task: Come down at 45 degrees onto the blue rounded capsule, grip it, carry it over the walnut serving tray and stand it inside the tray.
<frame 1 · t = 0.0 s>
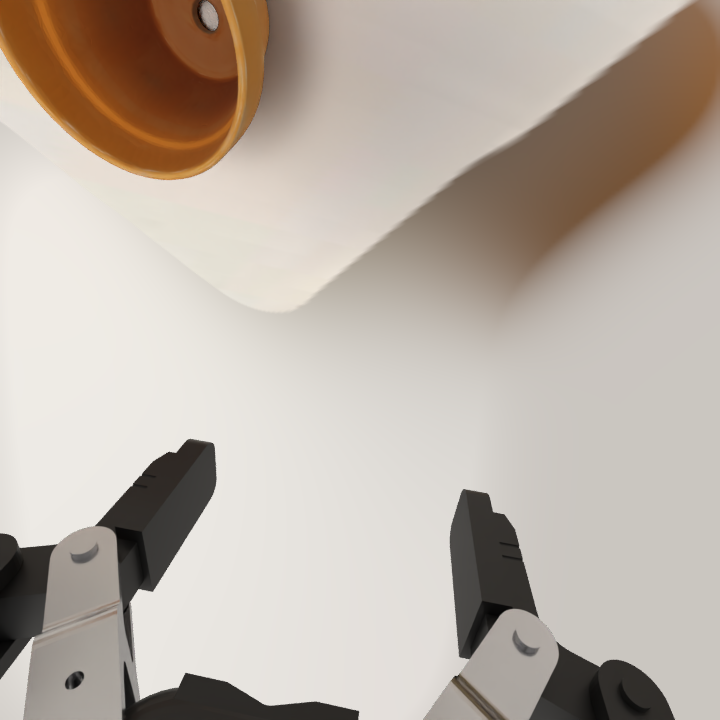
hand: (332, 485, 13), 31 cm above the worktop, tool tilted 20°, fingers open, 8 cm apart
flower pot: (214, 10, 30), on the worktop
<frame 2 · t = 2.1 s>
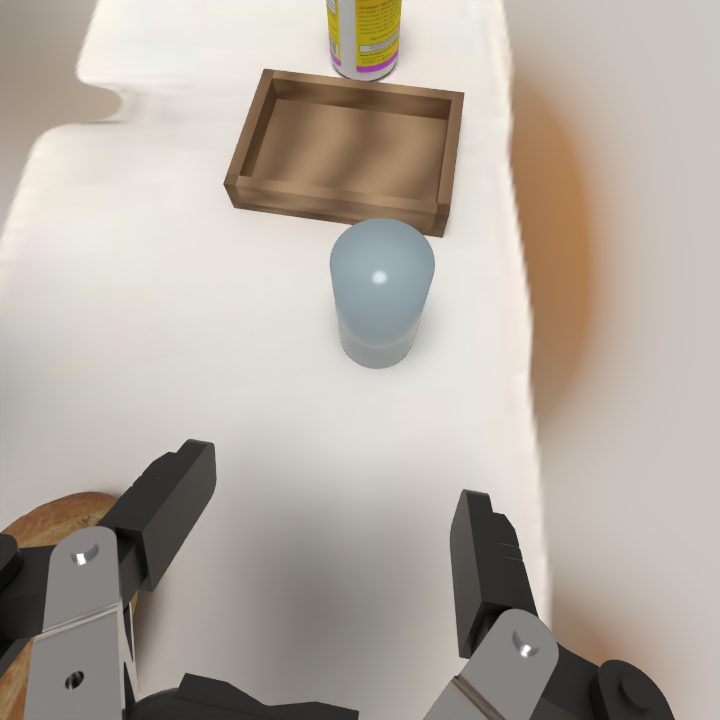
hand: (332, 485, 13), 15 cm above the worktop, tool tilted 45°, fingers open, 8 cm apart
bread roll: (82, 617, 25), on the worktop
tray: (350, 162, 36), on the worktop
supplement bottle: (364, 62, 41), on the worktop
blue rounded capsule: (376, 333, 31), on the worktop
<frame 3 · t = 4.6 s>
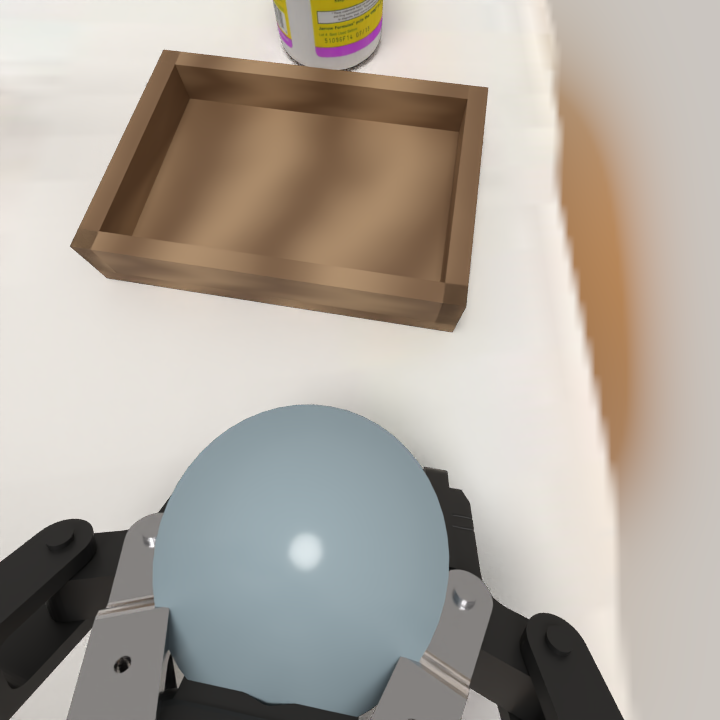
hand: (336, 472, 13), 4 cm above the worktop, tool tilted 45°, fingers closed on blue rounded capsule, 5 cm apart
tray: (302, 200, 23), on the worktop
supplement bottle: (331, 43, 27), on the worktop
blue rounded capsule: (335, 521, 17), on the worktop, touching gripper
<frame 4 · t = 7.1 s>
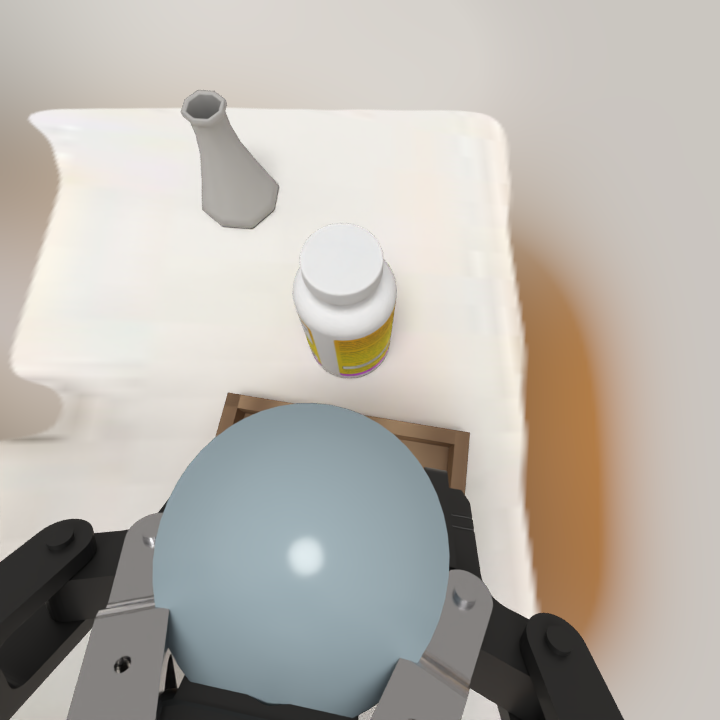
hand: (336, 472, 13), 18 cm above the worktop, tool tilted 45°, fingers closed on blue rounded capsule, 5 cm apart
tray: (332, 504, 30), on the worktop
flask: (242, 200, 40), on the worktop
supplement bottle: (350, 343, 35), on the worktop
blue rounded capsule: (336, 520, 17), point 14 cm above the worktop, touching gripper
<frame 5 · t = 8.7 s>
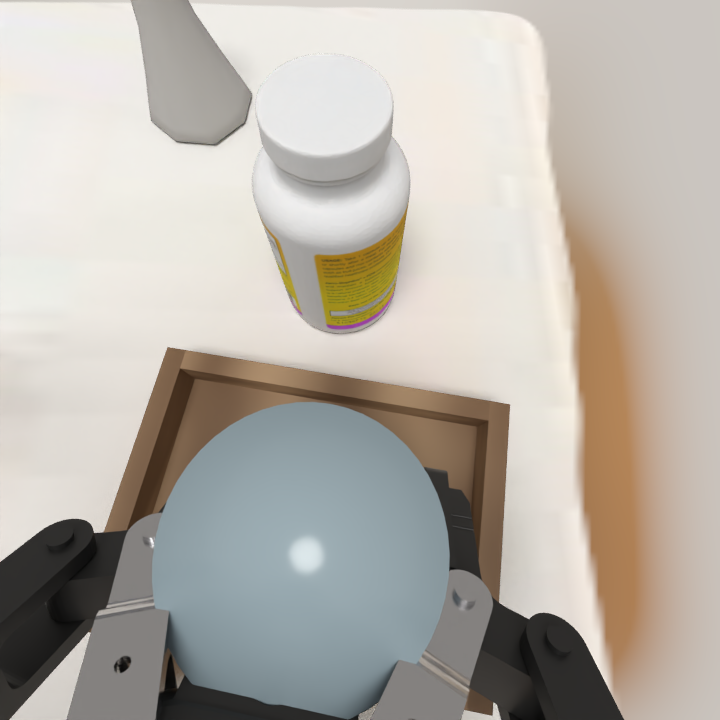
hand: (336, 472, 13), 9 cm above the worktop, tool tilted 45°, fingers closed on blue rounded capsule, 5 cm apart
tray: (314, 505, 22), on the worktop
flask: (204, 112, 31), on the worktop
supplement bottle: (341, 289, 26), on the worktop
blue rounded capsule: (336, 519, 17), point 4 cm above the worktop, touching gripper
when the fingers open (7 cm above the worktop, at t = 9.7 s): blue rounded capsule drops 1 cm, resting on tray.
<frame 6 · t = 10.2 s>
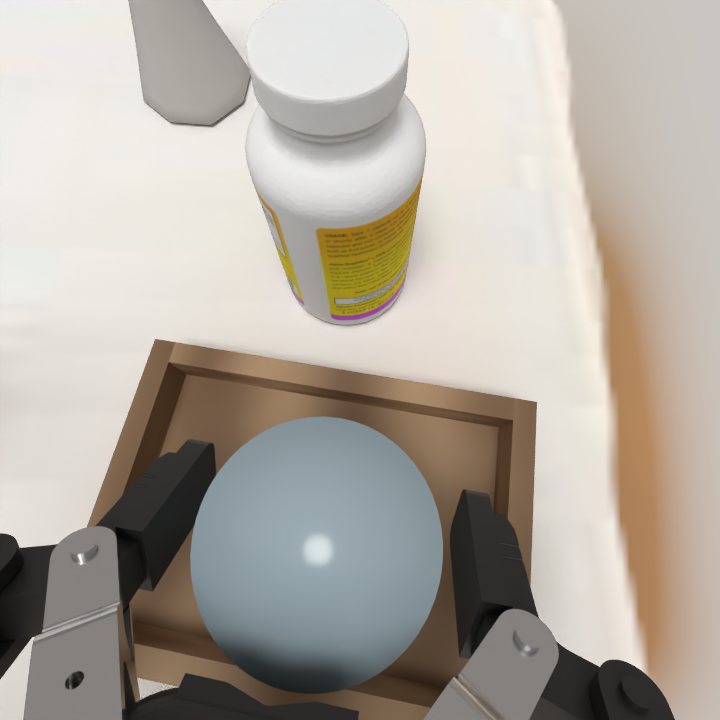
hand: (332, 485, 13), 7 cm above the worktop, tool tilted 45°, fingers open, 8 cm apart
tray: (317, 514, 19), on the worktop
flask: (200, 92, 29), on the worktop
supplement bottle: (347, 278, 24), on the worktop
blue rounded capsule: (338, 522, 18), point 1 cm above the worktop, touching tray
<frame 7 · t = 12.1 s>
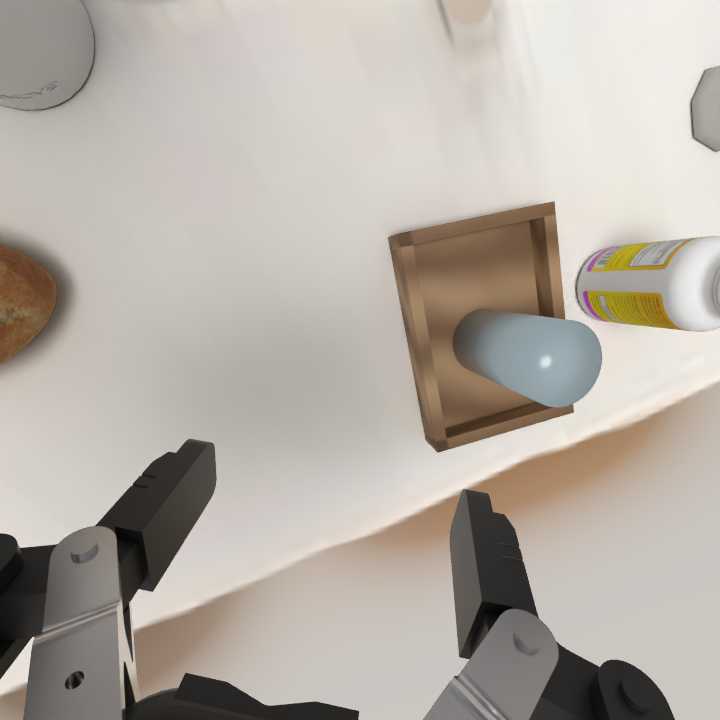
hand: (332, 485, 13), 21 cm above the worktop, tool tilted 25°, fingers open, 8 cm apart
tray: (477, 327, 36), on the worktop
flask: (719, 109, 36), on the worktop
supplement bottle: (603, 284, 37), on the worktop
blue rounded capsule: (483, 341, 35), point 1 cm above the worktop, touching tray
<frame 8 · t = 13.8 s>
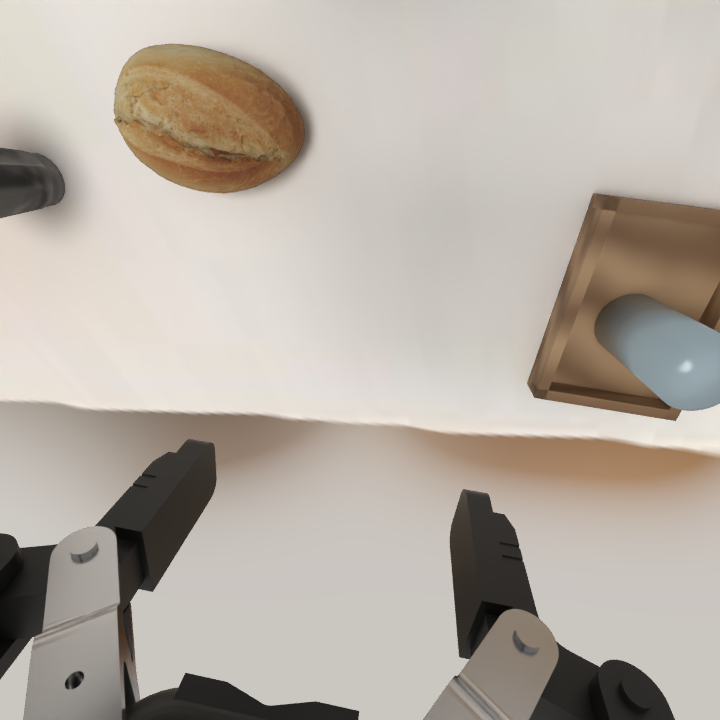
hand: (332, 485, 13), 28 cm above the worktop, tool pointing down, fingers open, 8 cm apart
bread roll: (225, 128, 35), on the worktop
tray: (629, 309, 37), on the worktop
beverage cup: (43, 180, 39), on the worktop
blue rounded capsule: (628, 324, 36), point 1 cm above the worktop, touching tray
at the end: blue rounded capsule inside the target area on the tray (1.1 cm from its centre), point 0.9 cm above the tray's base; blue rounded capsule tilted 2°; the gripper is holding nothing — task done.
